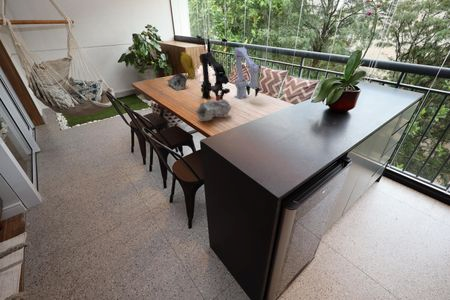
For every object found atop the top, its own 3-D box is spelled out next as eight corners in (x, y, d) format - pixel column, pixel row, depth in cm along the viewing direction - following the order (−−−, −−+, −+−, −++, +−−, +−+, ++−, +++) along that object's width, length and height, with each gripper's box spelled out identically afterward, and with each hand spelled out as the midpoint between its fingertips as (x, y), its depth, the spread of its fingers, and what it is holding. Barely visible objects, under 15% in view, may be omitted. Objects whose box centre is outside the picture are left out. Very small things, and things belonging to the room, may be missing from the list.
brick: (219, 99, 183) (219, 94, 181) (222, 99, 181) (222, 95, 179) (215, 100, 179) (215, 96, 177) (219, 101, 178) (219, 97, 175)
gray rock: (192, 83, 223) (180, 73, 240) (188, 78, 216) (175, 68, 233) (181, 95, 223) (169, 84, 240) (176, 91, 217) (164, 80, 234)
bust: (212, 120, 140) (239, 108, 156) (200, 99, 140) (228, 90, 156) (203, 130, 153) (228, 118, 170) (191, 111, 154) (218, 101, 170)
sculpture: (191, 75, 276) (188, 51, 262) (201, 77, 256) (198, 51, 242) (178, 77, 267) (174, 52, 252) (186, 80, 247) (182, 52, 232)
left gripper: (204, 81, 170) (205, 99, 178) (222, 85, 161) (222, 104, 170) (212, 78, 177) (213, 96, 186) (230, 82, 169) (230, 100, 178)
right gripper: (243, 79, 177) (243, 95, 184) (258, 82, 170) (257, 98, 178) (247, 78, 182) (246, 93, 189) (262, 80, 175) (260, 96, 182)
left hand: (219, 99), depth 180 cm, fingers closed on brick, 4 cm apart
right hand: (252, 95), depth 184 cm, fingers open, 7 cm apart
